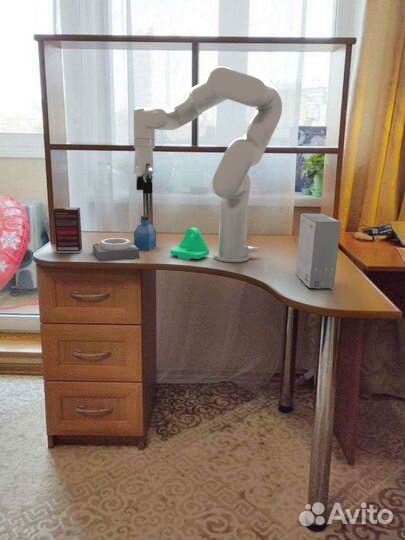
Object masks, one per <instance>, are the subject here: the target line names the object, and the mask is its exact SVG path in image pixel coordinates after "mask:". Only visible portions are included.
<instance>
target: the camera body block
mask: <svg viewBox="0 0 405 540" xmlns="http://www.w3.org/2000/svg"><path fill="white" fill-rule="evenodd" d="M99 242H100V243H98V242H97V243H93V244H92V252H93V254H94V255H95V257H96V258H97V260H98V261H109V260H111V261H112V260H123V259H138V258H140V249H138V248H137V247H136V246H135V245H134V242H133V243H132V242H131V240H130V239H128V238H122V237H121V238H120V237H111V238H109V237H108V238H105V239H102V240H100V241H99Z"/></svg>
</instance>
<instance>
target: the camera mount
mask: <svg viewBox="0 0 405 540" xmlns="http://www.w3.org/2000/svg"><path fill="white" fill-rule="evenodd" d="M169 254H170V255H172V256H176V257H177V259H181V260H186V261H190V260H193V259H194V260H195V259H197V260H199V259H202V258H204V257H206V256H208V255H210V249H209V247H208V245H207V243H206V241H205V239H204V237H203V235H202V233H201V231H200V230H199V228H197V227H195V226H194V227H190V228H188V229H186V230H185V231H184V237H183V238H182V239H181V241H180V243H179V245H178V246H176V247H174V248H171V249H170V253H169Z"/></svg>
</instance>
